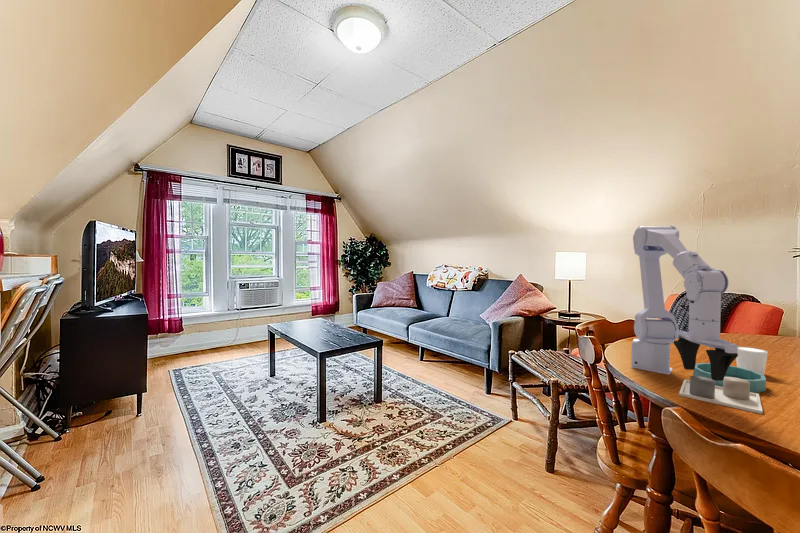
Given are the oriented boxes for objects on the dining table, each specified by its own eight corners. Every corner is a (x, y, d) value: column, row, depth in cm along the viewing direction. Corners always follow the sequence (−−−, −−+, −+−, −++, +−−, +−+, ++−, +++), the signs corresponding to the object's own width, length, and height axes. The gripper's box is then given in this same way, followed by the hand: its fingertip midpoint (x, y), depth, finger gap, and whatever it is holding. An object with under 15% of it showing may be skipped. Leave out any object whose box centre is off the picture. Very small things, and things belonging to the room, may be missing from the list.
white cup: (728, 368, 105) (728, 346, 104) (748, 368, 105) (748, 346, 105) (753, 376, 98) (753, 352, 98) (774, 376, 98) (775, 352, 98)
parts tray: (679, 397, 83) (679, 392, 83) (683, 383, 92) (684, 379, 92) (762, 416, 73) (762, 411, 73) (758, 398, 82) (758, 393, 82)
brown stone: (722, 396, 82) (723, 380, 82) (722, 391, 86) (723, 375, 85) (749, 402, 79) (750, 385, 79) (749, 396, 82) (749, 380, 82)
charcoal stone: (688, 395, 83) (689, 379, 83) (690, 390, 86) (690, 374, 86) (714, 400, 80) (714, 384, 80) (714, 395, 83) (715, 379, 83)
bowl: (691, 383, 92) (691, 371, 92) (695, 371, 102) (695, 360, 102) (767, 399, 82) (767, 385, 82) (763, 383, 92) (763, 371, 92)
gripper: (664, 314, 90) (663, 365, 90) (716, 325, 75) (714, 385, 75) (690, 314, 90) (689, 365, 90) (747, 325, 75) (745, 385, 75)
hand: (702, 374), depth 83 cm, fingers open, 7 cm apart
